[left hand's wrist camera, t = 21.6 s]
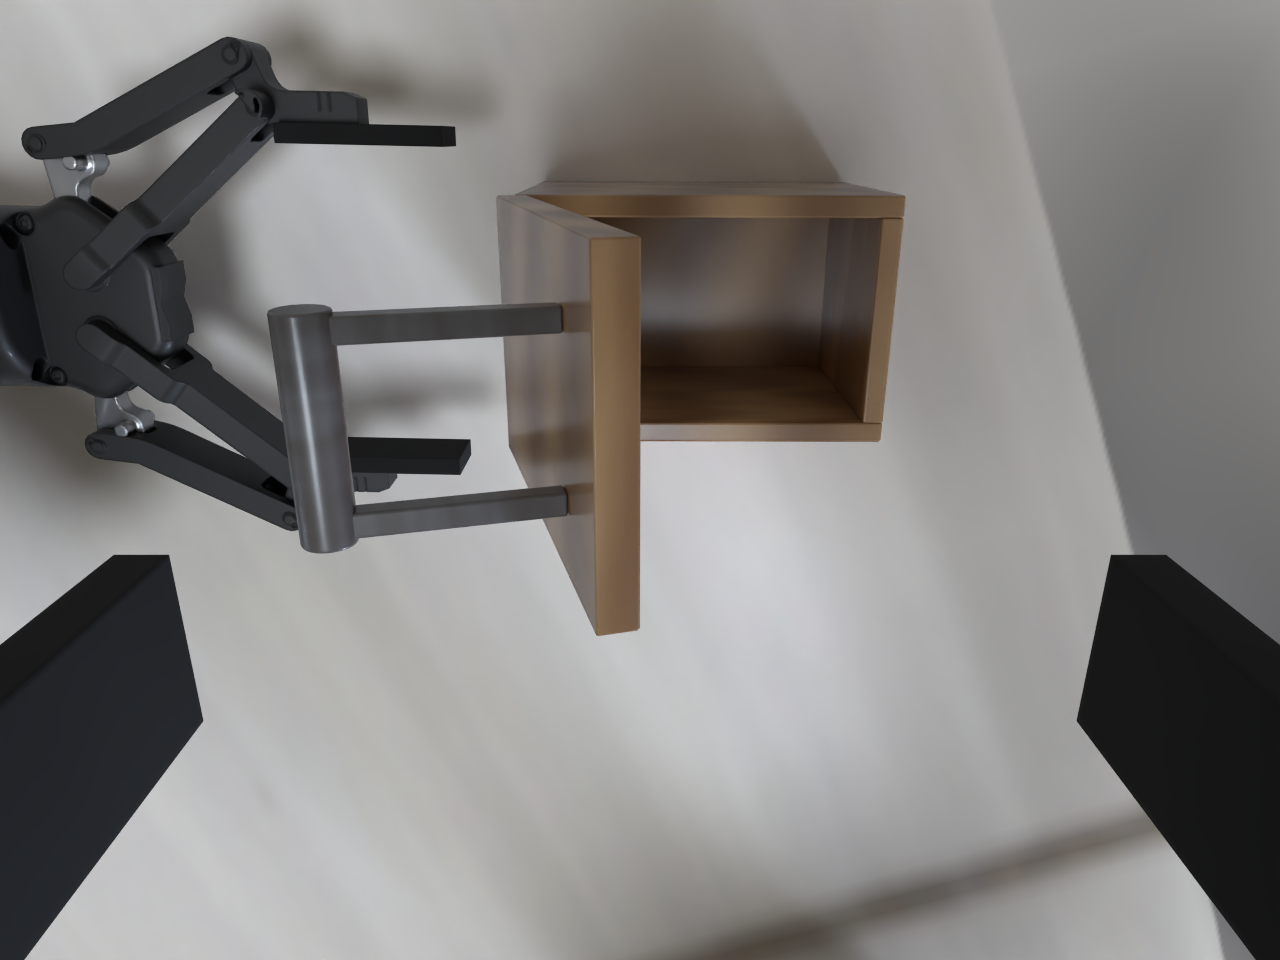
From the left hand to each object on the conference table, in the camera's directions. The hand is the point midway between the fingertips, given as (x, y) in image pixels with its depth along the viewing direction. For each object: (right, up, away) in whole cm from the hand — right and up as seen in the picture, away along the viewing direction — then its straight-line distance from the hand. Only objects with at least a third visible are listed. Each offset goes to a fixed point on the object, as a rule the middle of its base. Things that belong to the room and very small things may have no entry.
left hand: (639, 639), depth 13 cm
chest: (+3, +12, +32) cm, 34 cm away
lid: (-2, +6, +15) cm, 16 cm away
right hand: (-8, +10, +26) cm, 28 cm away
